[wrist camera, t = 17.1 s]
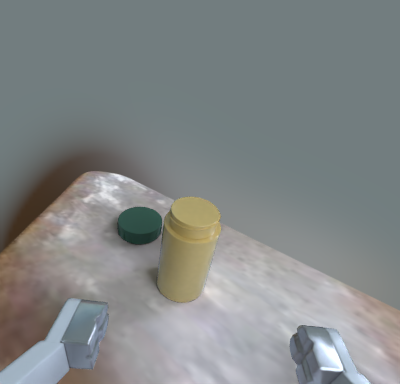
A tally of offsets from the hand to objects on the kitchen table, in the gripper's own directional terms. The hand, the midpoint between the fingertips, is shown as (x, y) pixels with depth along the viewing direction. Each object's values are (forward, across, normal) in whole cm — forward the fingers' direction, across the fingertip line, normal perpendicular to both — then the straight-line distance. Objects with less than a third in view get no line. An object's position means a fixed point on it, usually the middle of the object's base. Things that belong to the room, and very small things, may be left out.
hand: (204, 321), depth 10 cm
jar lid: (+21, -7, -13) cm, 26 cm away
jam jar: (+13, 0, -14) cm, 20 cm away
